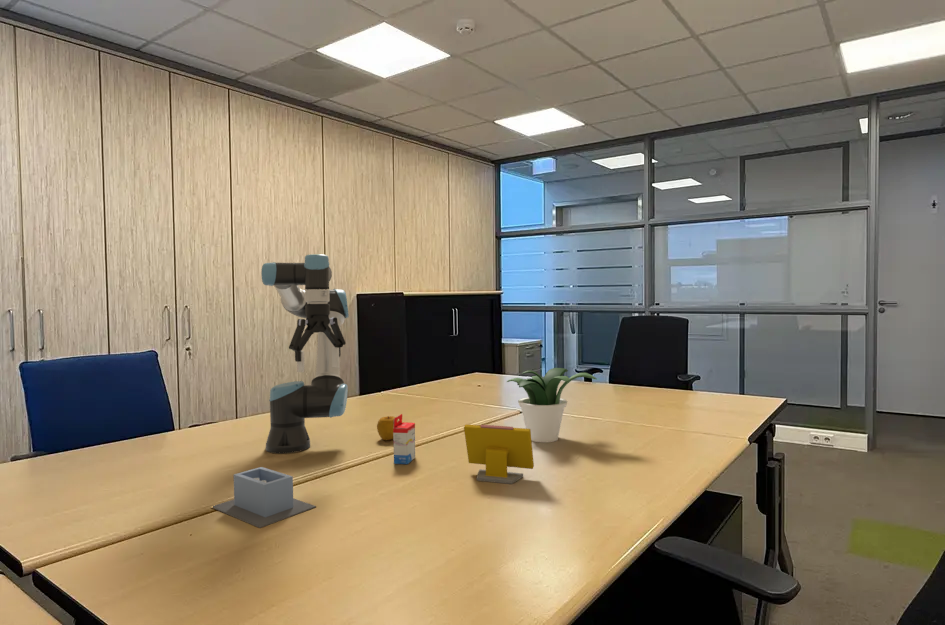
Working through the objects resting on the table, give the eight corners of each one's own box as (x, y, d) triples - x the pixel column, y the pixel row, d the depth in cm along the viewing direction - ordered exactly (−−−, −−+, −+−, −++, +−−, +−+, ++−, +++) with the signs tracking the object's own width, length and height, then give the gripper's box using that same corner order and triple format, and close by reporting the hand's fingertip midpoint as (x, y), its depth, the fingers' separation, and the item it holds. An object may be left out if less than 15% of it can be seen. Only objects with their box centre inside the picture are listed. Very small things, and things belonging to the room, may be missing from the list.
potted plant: (591, 453, 191) (590, 378, 190) (492, 445, 203) (491, 374, 203) (603, 432, 221) (603, 367, 220) (516, 425, 233) (516, 364, 232)
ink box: (407, 464, 181) (407, 419, 181) (393, 464, 182) (392, 418, 182) (415, 457, 190) (415, 413, 189) (401, 456, 191) (401, 413, 190)
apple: (393, 443, 208) (393, 419, 208) (372, 441, 211) (372, 418, 210) (403, 437, 216) (403, 414, 216) (383, 436, 219) (383, 413, 218)
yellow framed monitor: (534, 477, 168) (533, 424, 167) (527, 485, 160) (527, 430, 160) (470, 471, 174) (469, 420, 174) (461, 479, 167) (460, 425, 166)
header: (211, 507, 146) (210, 481, 146) (266, 490, 159) (266, 466, 159) (259, 528, 133) (259, 499, 133) (316, 507, 146) (315, 481, 145)
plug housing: (234, 505, 147) (233, 474, 147) (262, 496, 153) (261, 466, 153) (265, 517, 139) (264, 485, 138) (293, 507, 145) (292, 476, 145)
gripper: (291, 303, 168) (292, 375, 169) (355, 302, 188) (356, 366, 189) (276, 303, 173) (277, 373, 174) (340, 302, 193) (341, 364, 194)
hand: (318, 369), depth 181 cm, fingers open, 13 cm apart
